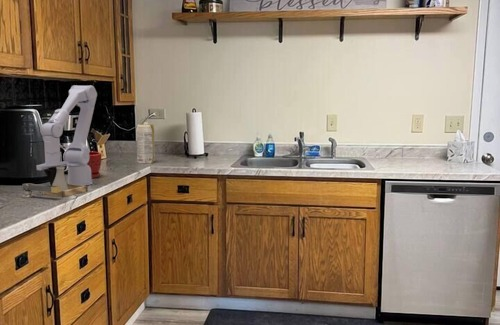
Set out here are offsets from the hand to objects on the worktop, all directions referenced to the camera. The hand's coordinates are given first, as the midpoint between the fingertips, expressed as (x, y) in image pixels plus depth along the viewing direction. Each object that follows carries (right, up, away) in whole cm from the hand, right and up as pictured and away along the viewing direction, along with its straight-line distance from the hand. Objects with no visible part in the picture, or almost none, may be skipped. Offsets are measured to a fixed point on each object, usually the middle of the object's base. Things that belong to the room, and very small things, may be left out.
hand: (53, 185), depth 190 cm
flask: (+3, -3, -2) cm, 4 cm away
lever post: (-6, -4, -9) cm, 12 cm away
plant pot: (+2, +2, +34) cm, 35 cm away
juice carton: (+19, +9, +85) cm, 87 cm away
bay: (+6, -3, -2) cm, 7 cm away
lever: (0, -1, -12) cm, 12 cm away
